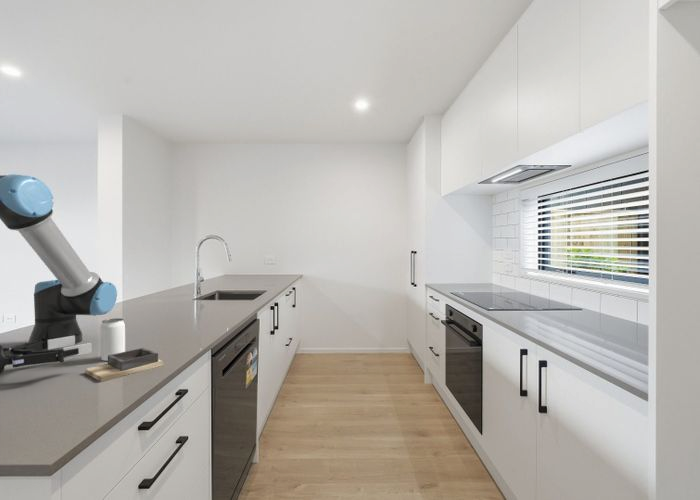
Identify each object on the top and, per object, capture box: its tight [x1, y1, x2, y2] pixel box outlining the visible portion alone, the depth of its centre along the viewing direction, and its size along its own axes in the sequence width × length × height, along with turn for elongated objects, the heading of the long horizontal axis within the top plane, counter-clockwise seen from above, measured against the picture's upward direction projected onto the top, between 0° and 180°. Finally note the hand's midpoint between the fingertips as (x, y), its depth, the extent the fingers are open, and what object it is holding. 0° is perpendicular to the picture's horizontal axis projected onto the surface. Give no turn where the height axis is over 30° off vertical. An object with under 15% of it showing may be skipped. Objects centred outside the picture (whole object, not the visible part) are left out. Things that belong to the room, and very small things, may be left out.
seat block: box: [84, 347, 164, 383], centre depth 103 cm, size 11×16×4 cm
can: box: [99, 318, 126, 362], centre depth 113 cm, size 6×6×12 cm
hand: (82, 343), depth 106 cm, fingers open, 13 cm apart
